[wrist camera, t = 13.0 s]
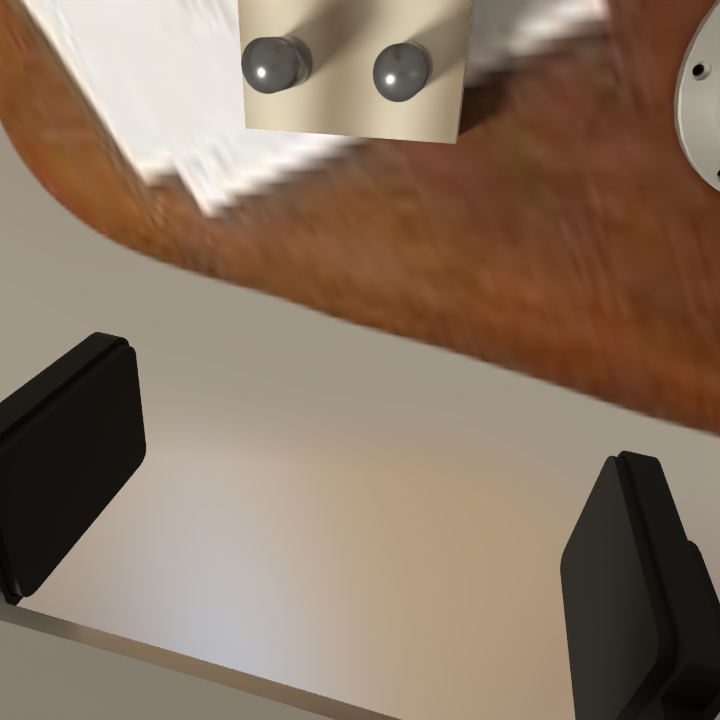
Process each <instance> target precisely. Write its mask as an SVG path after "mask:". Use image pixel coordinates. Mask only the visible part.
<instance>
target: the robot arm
mask: <svg viewBox="0 0 720 720" xmlns="http://www.w3.org/2000/svg"><path fill="white" fill-rule="evenodd" d="M697 64H700V65H701V67H702V69H701V71H700V73H699V74H697V75H693V73H692V70H693V68H694V66H696V65H697ZM674 119H675V128H676V131H677V135H678V139H679V143H680V146H681V148H682V150H683V152H684V154H685V156H686V158H687V159H688V161H689V163H690V165H691V166H692V167H693V168H694V169H695V170H696V172H697V173H698V174H699V175H700V176H701V177H702V178H703V179H704V180H705V181H706V182H707V183H709V184H710V185H711V186H713V187H714V188H715V189H717V190H718V191H720V175H719V176H718V175H717V173H718V172H719V170H720V0H716V2H715V3H714V4H713V6H712V7H711V8H710V10H709V11H708V13H707V14H706V15H705V17H704V18H703V19H702V21H701V22H700V24H699V26H698V28H697V30H696V32H695V34H694V36H693V37H692V39H691V41H690V43H689V45H688V47H687V49H686V52H685V55H684V58H683V61H682V64H681V67H680V70H679V73H678V76H677V83H676V89H675V96H674ZM145 454H146V441H145V432H144V423H143V415H142V405H141V396H140V387H139V378H138V368H137V360H136V352H135V350H134V348H133V347H130V346H129V343H128V341H127V340H126V339H125V338H123V337H118V336H114V335H109V334H105V333H101V332H95V333H93V334H91V335H90V336H89V337H87V338H86V339H85V340H84V341H82V342H81V343H79V344H78V345H77V346H75V347H74V348H73V349H71V350H70V351H69V352H67V353H66V354H65V355H63V356H62V357H61V358H59V359H58V360H57V361H55V362H54V363H53V364H51V365H50V366H49V367H47V368H46V369H45V370H43V371H42V372H41V373H40V374H38V375H37V376H35V377H34V378H33V379H31V380H30V381H29V382H27V383H26V384H25V385H24V386H22V387H21V388H19V389H18V390H17V391H15V392H14V393H13V394H11V395H10V396H9V397H7V398H6V399H5V400H3V401H2V402H1V403H0V720H401V719H398V718H394V717H391V716H388V715H384V714H381V713H377V712H374V711H371V710H367V709H364V708H361V707H358V706H354V705H351V704H348V703H344V702H341V701H338V700H335V699H331V698H328V697H324V696H321V695H318V694H315V693H311V692H308V691H305V690H301V689H297V688H294V687H291V686H288V685H284V684H281V683H278V682H274V681H271V680H267V679H264V678H261V677H257V676H254V675H250V674H247V673H244V672H240V671H237V670H234V669H230V668H227V667H224V666H220V665H217V664H213V663H210V662H206V661H203V660H200V659H196V658H193V657H190V656H186V655H183V654H179V653H176V652H173V651H169V650H166V649H163V648H159V647H155V646H152V645H149V644H146V643H142V642H138V641H135V640H132V639H128V638H124V637H121V636H118V635H114V634H110V633H107V632H104V631H101V630H97V629H94V628H90V627H87V626H83V625H80V624H76V623H73V622H70V621H66V620H63V619H59V618H56V617H52V616H49V615H45V614H42V613H39V612H35V611H32V610H28V609H25V608H21V607H18V606H16V605H17V604H18V603H19V601H20V600H21V599H22V598H23V597H28V596H31V595H32V594H34V593H35V592H36V591H37V590H38V588H39V587H40V586H41V585H42V584H43V582H44V581H45V580H46V579H47V578H48V576H49V575H50V574H51V573H52V571H53V570H54V569H55V568H56V566H57V565H58V564H59V563H60V562H61V561H62V559H63V558H64V557H65V556H66V555H67V553H68V552H69V551H70V550H71V549H72V547H73V546H74V544H76V542H77V541H78V540H79V539H80V538H81V536H82V535H83V534H84V533H85V531H86V530H87V529H88V528H89V527H90V526H91V524H92V523H93V522H94V521H95V519H96V518H97V517H98V516H99V515H100V513H101V512H102V511H103V510H104V509H105V507H106V506H107V505H108V504H109V503H110V501H111V500H112V499H113V498H114V496H115V495H116V494H117V493H118V492H119V490H120V489H121V488H122V487H123V486H124V484H125V483H126V482H127V481H128V480H129V478H130V477H131V476H132V475H133V473H134V472H135V471H136V470H137V469H138V467H139V466H140V465H141V463H142V462H143V459H144V457H145ZM560 573H561V582H562V593H563V602H564V612H565V622H566V631H567V641H568V650H569V661H570V670H571V680H572V690H573V699H574V709H575V719H576V720H720V603H719V600H718V598H717V595H716V592H715V590H714V587H713V584H712V582H711V579H710V576H709V573H708V571H707V568H706V565H705V563H704V560H703V558H702V555H701V552H700V551H699V549H698V547H697V545H696V544H694V543H693V542H692V541H689V540H687V537H686V534H685V531H684V528H683V526H682V523H681V520H680V518H679V514H678V512H677V509H676V506H675V503H674V500H673V498H672V495H671V492H670V489H669V486H668V484H667V481H666V478H665V476H664V472H663V470H662V467H661V464H660V462H659V460H658V459H657V458H655V457H651V456H647V455H642V454H638V453H633V452H628V451H622V452H621V453H620V454H619V455H618V457H615V456H609V457H608V458H607V460H606V462H605V463H604V466H603V468H602V470H601V472H600V474H599V476H598V478H597V481H596V483H595V485H594V487H593V489H592V491H591V493H590V496H589V498H588V500H587V502H586V504H585V506H584V508H583V511H582V513H581V515H580V517H579V519H578V521H577V524H576V526H575V528H574V530H573V532H572V534H571V536H570V539H569V541H568V543H567V545H566V547H565V550H564V552H563V555H562V558H561V567H560Z"/></svg>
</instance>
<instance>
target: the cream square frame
mask: <svg viewBox="0 0 720 720" xmlns="http://www.w3.org/2000/svg"><path fill="white" fill-rule="evenodd" d="M473 7H474V0H238V12H239V27H240V43H241V59H242V60H241V66H242V74H243V90H244V105H245V121H246V128H250V129H264V130H277V131H291V132H305V133H318V134H332V135H345V136H359V137H372V138H386V139H400V140H413V141H427V142H440V143H454V144H456V141H457V138H458V134H459V126H460V117H461V109H462V100H463V92H464V83H465V75H466V66H467V58H468V49H469V41H470V32H471V24H472V15H473Z"/></svg>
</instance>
